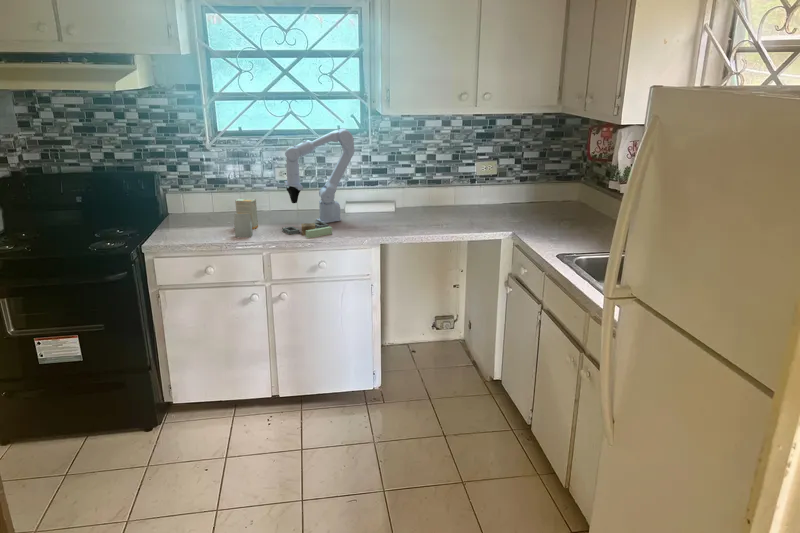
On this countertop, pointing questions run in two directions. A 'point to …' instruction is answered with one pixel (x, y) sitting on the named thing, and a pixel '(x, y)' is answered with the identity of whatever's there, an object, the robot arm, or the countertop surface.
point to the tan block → (307, 227)
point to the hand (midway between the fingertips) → (294, 202)
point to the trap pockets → (320, 231)
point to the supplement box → (247, 209)
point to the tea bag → (243, 225)
